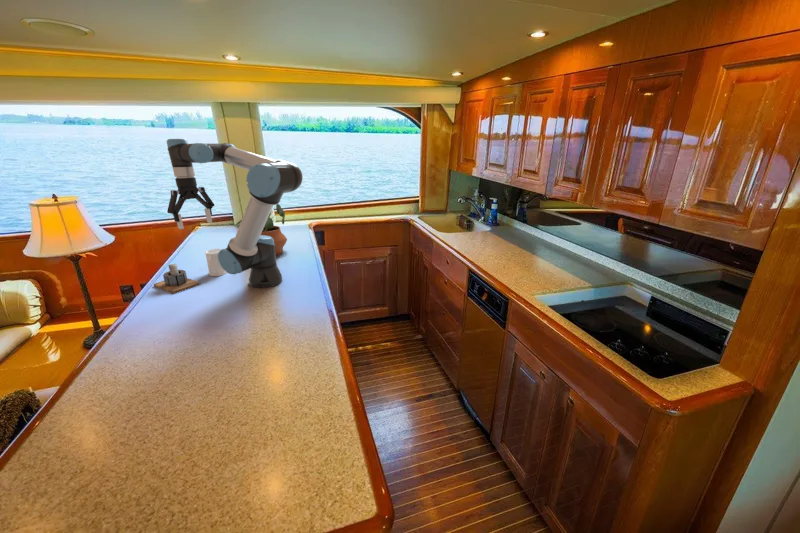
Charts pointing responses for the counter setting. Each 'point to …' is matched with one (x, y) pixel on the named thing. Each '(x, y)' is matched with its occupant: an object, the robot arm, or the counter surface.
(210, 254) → the mug
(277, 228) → the potted plant
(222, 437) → the counter surface
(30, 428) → the counter surface
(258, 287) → the robot arm
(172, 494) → the counter surface
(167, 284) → the ring
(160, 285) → the post block
